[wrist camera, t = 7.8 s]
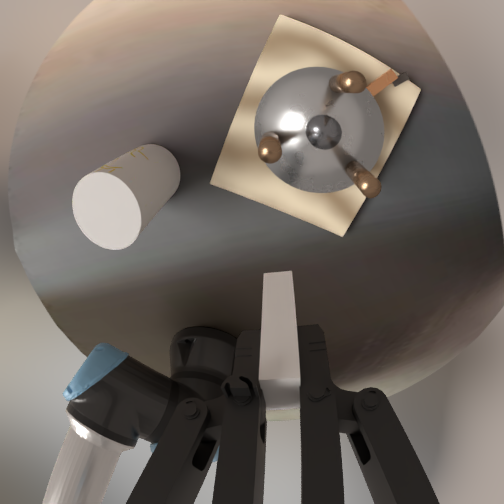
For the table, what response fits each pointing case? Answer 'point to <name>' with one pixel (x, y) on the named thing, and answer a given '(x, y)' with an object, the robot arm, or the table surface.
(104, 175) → the cup
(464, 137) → the table surface
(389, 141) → the base board
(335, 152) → the capstan wheel
